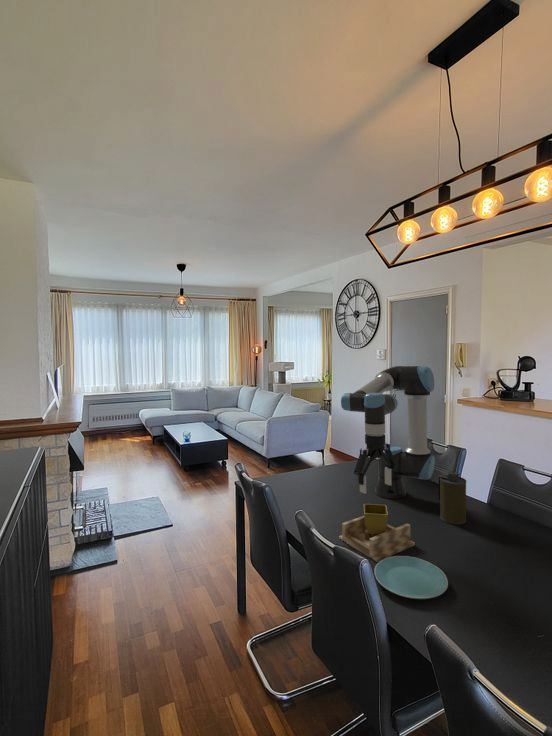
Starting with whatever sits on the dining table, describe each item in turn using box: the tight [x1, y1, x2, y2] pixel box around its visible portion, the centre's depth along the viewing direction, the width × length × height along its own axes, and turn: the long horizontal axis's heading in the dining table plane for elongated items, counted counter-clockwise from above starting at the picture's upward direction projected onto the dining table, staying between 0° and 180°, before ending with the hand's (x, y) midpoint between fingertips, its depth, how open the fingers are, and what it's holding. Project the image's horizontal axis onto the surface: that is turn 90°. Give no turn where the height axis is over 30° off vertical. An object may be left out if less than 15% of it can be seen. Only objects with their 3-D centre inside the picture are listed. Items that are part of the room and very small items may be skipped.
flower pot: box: [363, 503, 389, 535], centre depth 149 cm, size 9×9×9 cm
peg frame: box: [338, 515, 416, 563], centre depth 149 cm, size 20×20×7 cm
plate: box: [373, 555, 449, 600], centre depth 123 cm, size 22×22×3 cm
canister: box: [438, 471, 467, 525], centre depth 166 cm, size 11×10×20 cm
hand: (375, 488), depth 149 cm, fingers open, 13 cm apart
